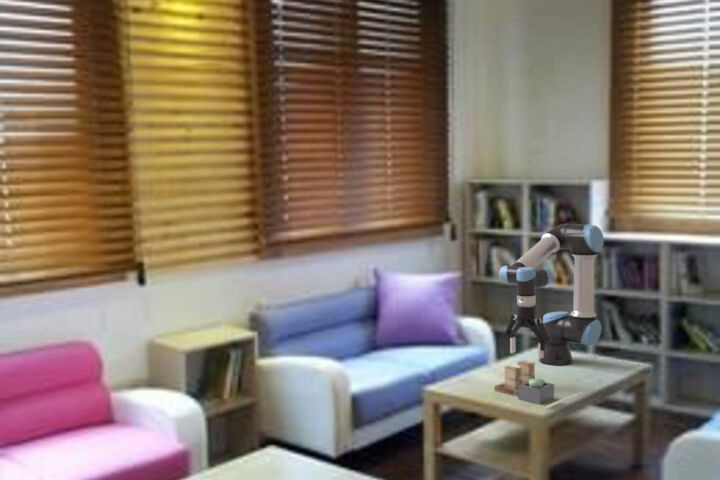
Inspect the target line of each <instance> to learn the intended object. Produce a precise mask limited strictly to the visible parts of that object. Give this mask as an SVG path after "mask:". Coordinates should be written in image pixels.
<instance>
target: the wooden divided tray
mask: <svg viewBox="0 0 720 480" xmlns="http://www.w3.org/2000/svg"><path fill="white" fill-rule="evenodd" d="M542 380H543V379H542ZM543 382H545V380H543ZM493 390H494V392H498V393H502V394H506V395H511V396H513V397H514V396H515V397H518V389H517V390H514V389H509V388H505V381H503V382H501V383H499V384H496V385H494V389H493Z"/></svg>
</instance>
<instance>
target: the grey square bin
mask: <svg viewBox="0 0 720 480" xmlns="http://www.w3.org/2000/svg"><path fill="white" fill-rule="evenodd" d="M554 398H555V384H554V383H550V382H543V387H540V388H536V387H531V386H529V381H527V382H524V383H522V384H519V385H518V396H517V400H520V401H522V402H527V403H532V404H536V405H539V406H540V405H543V404H545V403H547V402H550V401H552V400H554Z"/></svg>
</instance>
